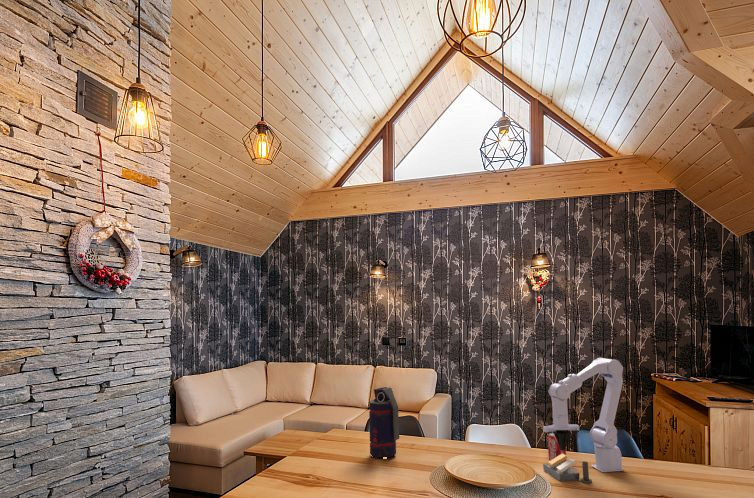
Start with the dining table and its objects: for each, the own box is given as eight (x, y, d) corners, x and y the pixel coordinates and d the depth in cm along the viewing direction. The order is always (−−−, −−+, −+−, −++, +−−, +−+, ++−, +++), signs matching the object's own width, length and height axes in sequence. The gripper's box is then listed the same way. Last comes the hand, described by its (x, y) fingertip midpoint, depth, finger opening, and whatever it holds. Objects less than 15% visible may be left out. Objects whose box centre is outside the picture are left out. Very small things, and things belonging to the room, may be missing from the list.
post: (588, 479, 187) (586, 460, 187) (594, 483, 183) (592, 463, 184) (578, 480, 186) (577, 460, 187) (584, 483, 182) (583, 464, 183)
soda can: (568, 467, 201) (566, 436, 202) (550, 466, 202) (548, 436, 204) (565, 461, 208) (563, 432, 209) (547, 461, 209) (546, 432, 211)
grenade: (364, 457, 219) (363, 388, 222) (379, 450, 229) (378, 385, 232) (390, 462, 211) (389, 391, 214) (404, 455, 221) (403, 387, 224)
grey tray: (561, 468, 199) (561, 458, 199) (579, 479, 186) (578, 469, 187) (543, 470, 198) (542, 459, 198) (560, 481, 185) (559, 470, 185)
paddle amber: (563, 456, 197) (562, 453, 197) (568, 459, 193) (566, 455, 193) (549, 465, 195) (547, 461, 196) (553, 468, 192) (551, 464, 192)
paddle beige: (572, 461, 190) (570, 458, 190) (577, 464, 187) (575, 460, 187) (557, 470, 189) (555, 467, 189) (562, 473, 186) (560, 470, 186)
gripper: (548, 417, 191) (550, 453, 190) (582, 415, 194) (585, 451, 192) (539, 413, 198) (541, 448, 197) (572, 412, 200) (575, 446, 199)
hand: (562, 449), depth 195 cm, fingers closed
